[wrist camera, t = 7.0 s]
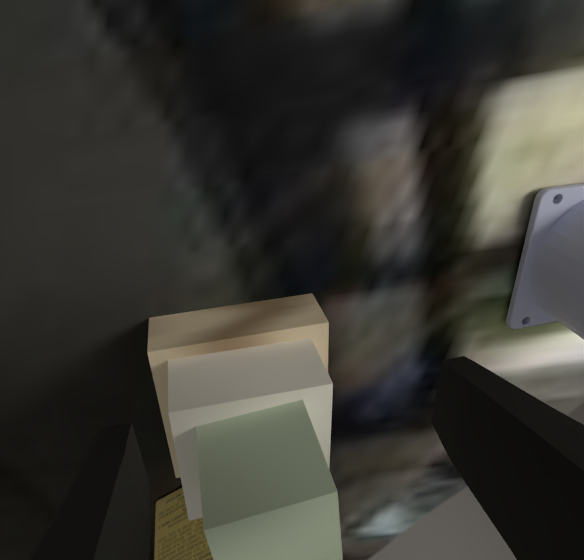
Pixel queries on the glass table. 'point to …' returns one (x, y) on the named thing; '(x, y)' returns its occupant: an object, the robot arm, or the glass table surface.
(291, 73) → the glass table surface
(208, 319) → the slab bottom
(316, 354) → the slab top
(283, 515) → the block
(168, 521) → the candy box
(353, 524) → the glass table surface
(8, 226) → the glass table surface
